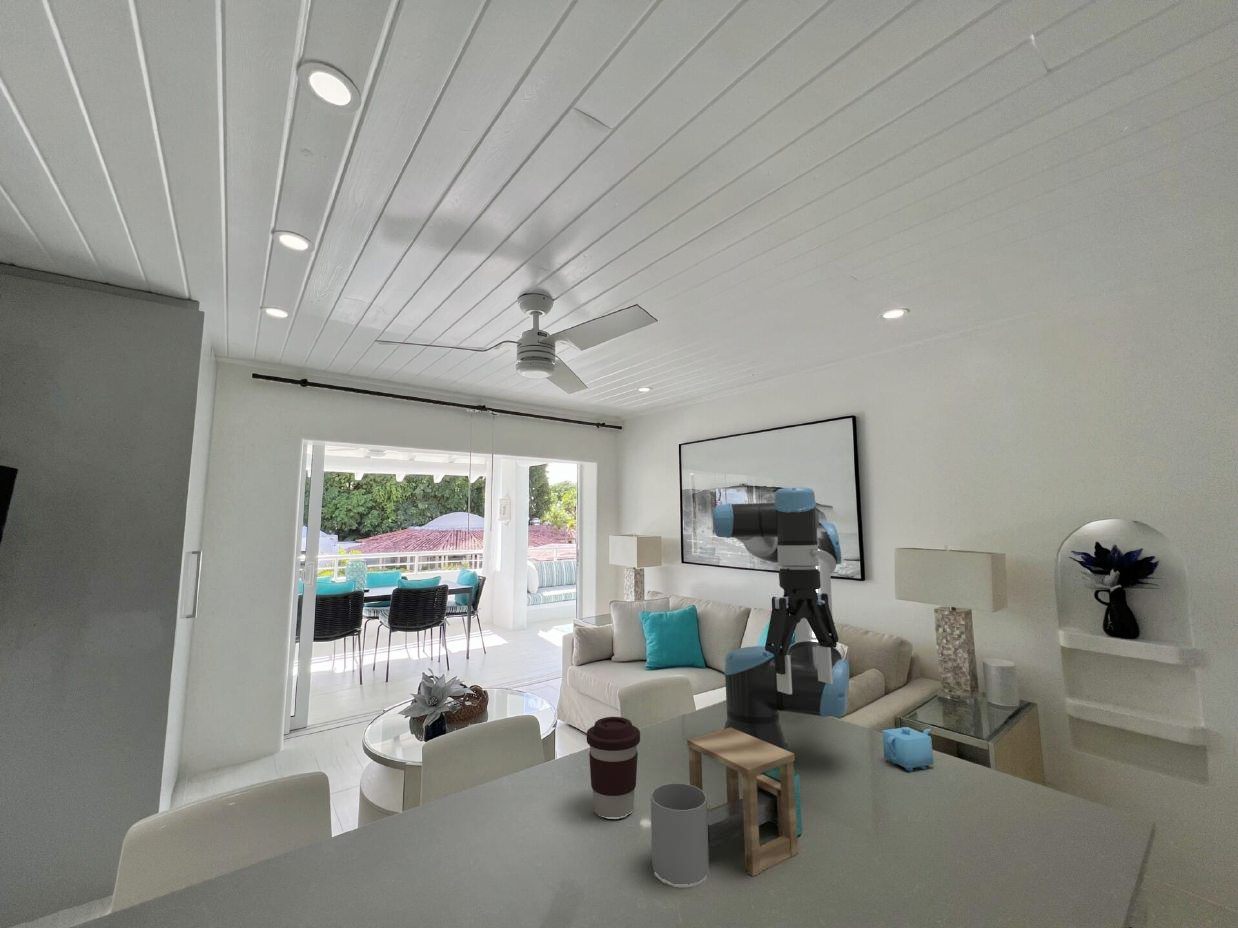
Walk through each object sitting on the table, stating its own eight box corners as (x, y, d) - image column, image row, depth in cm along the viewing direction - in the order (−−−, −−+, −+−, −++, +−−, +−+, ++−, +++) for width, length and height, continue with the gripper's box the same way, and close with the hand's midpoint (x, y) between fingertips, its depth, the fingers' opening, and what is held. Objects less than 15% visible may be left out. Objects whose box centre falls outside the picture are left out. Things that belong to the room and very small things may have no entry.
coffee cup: (649, 803, 94) (647, 717, 97) (627, 830, 86) (626, 735, 88) (601, 792, 99) (601, 710, 101) (576, 817, 90) (576, 727, 92)
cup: (703, 893, 70) (701, 814, 72) (646, 881, 73) (645, 805, 74) (712, 857, 78) (710, 787, 80) (660, 847, 81) (659, 779, 82)
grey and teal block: (764, 811, 91) (761, 757, 92) (802, 832, 84) (798, 774, 85) (687, 844, 81) (685, 783, 82) (722, 871, 74) (720, 805, 76)
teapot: (921, 755, 115) (918, 719, 116) (946, 766, 109) (942, 729, 110) (879, 762, 111) (876, 725, 112) (901, 774, 105) (898, 735, 106)
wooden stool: (689, 832, 85) (687, 739, 87) (745, 809, 92) (741, 724, 94) (753, 877, 73) (748, 769, 76) (811, 847, 80) (805, 749, 83)
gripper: (773, 570, 89) (779, 703, 85) (852, 566, 101) (861, 681, 98) (741, 569, 95) (746, 692, 92) (820, 565, 108) (827, 673, 104)
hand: (805, 686), depth 95 cm, fingers open, 11 cm apart
